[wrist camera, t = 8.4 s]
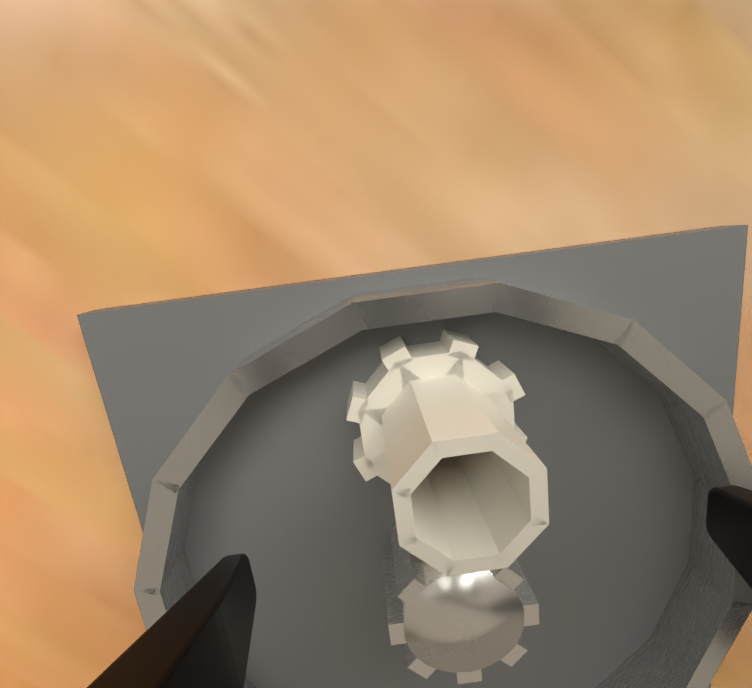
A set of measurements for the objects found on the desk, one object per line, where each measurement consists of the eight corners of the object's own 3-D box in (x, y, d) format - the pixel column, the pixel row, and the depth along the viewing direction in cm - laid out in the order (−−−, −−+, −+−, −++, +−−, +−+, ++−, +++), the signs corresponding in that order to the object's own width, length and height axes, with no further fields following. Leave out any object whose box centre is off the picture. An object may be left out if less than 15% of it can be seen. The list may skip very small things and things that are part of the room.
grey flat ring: (731, 242, 14) (793, 243, 12) (696, 719, 19) (736, 774, 17) (97, 328, 14) (53, 342, 12) (232, 786, 18) (217, 850, 17)
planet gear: (505, 320, 14) (596, 369, 9) (514, 470, 15) (597, 593, 10) (338, 344, 14) (325, 408, 9) (361, 492, 15) (364, 627, 10)
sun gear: (502, 492, 16) (535, 550, 13) (509, 596, 17) (541, 672, 14) (376, 509, 15) (380, 572, 13) (391, 613, 17) (398, 692, 14)
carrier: (722, 225, 15) (821, 222, 11) (690, 702, 20) (752, 787, 17) (96, 309, 14) (23, 328, 11) (230, 768, 20) (206, 868, 16)
